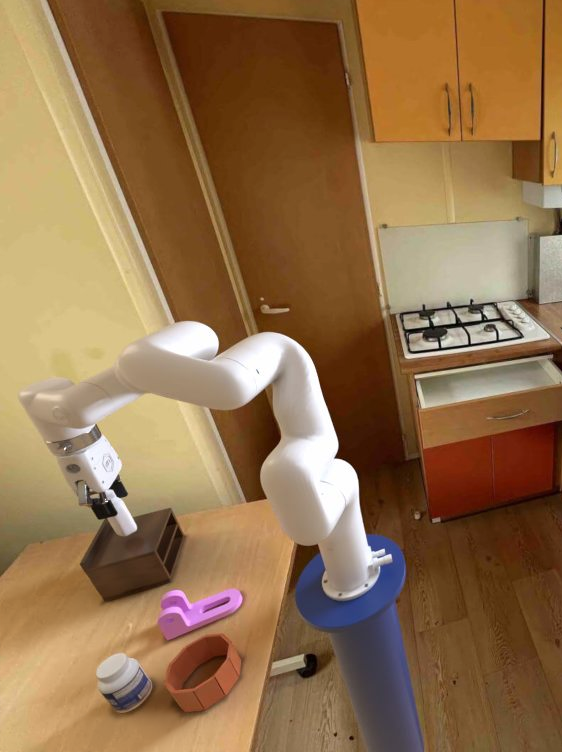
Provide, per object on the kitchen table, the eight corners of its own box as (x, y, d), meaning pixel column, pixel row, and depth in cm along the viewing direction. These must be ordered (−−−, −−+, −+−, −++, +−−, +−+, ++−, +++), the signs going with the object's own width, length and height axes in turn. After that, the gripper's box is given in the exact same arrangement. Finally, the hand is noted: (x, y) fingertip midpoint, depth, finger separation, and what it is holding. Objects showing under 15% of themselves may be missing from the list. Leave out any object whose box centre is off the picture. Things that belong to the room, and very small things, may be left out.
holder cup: (243, 643, 84) (234, 624, 81) (236, 697, 75) (226, 678, 72) (185, 664, 80) (173, 646, 77) (170, 723, 72) (157, 705, 69)
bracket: (167, 640, 84) (154, 618, 81) (171, 617, 88) (158, 595, 85) (242, 609, 90) (232, 587, 87) (242, 588, 94) (232, 567, 91)
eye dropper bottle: (141, 517, 97) (119, 476, 92) (136, 534, 93) (112, 492, 87) (116, 524, 95) (92, 483, 90) (110, 542, 91) (85, 500, 85)
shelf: (185, 536, 107) (168, 501, 102) (171, 581, 96) (150, 544, 90) (127, 552, 103) (105, 516, 98) (104, 601, 92) (79, 564, 86)
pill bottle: (111, 698, 75) (86, 667, 71) (148, 673, 79) (127, 642, 74) (118, 721, 72) (92, 690, 68) (156, 694, 76) (134, 663, 71)
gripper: (79, 459, 77) (121, 530, 85) (114, 412, 91) (147, 477, 99) (25, 470, 74) (73, 542, 83) (70, 420, 89) (107, 486, 97)
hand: (113, 506), depth 91 cm, fingers closed on eye dropper bottle, 5 cm apart
